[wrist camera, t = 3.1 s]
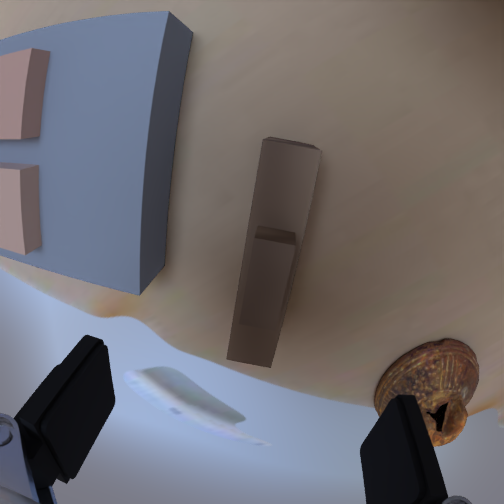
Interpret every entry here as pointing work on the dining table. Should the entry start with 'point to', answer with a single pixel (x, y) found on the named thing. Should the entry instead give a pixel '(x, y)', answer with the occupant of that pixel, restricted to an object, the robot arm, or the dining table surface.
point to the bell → (434, 385)
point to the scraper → (272, 247)
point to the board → (105, 145)
